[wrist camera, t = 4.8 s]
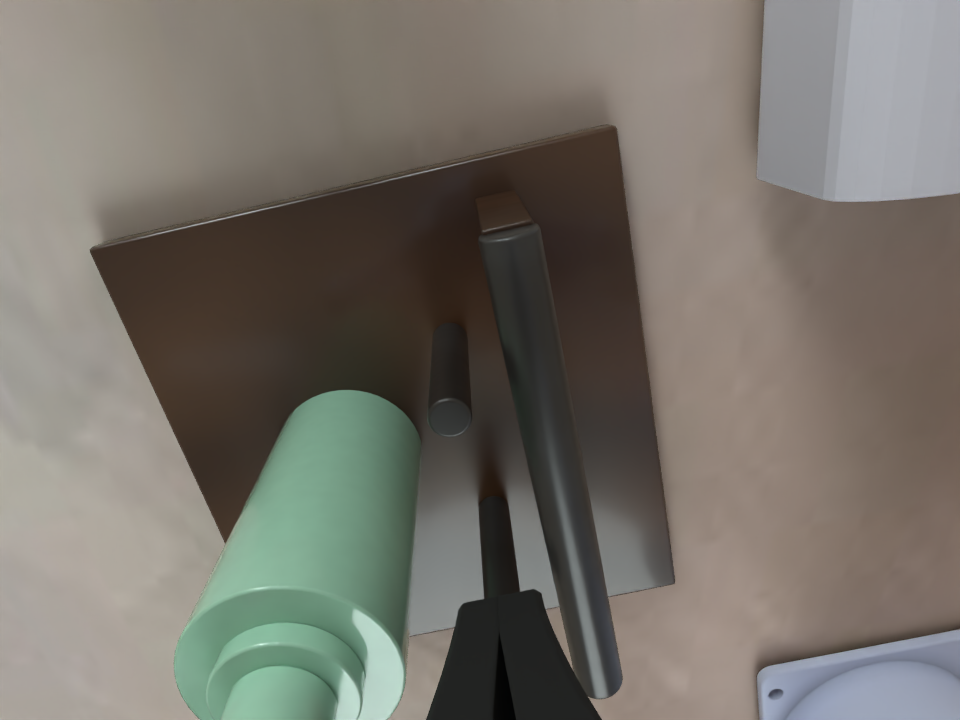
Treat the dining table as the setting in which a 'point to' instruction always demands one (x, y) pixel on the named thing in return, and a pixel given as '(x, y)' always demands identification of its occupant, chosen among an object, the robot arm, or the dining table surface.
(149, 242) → the rack
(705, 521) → the dining table surface
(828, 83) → the charger
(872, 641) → the dining table surface
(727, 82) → the dining table surface
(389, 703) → the bottle
